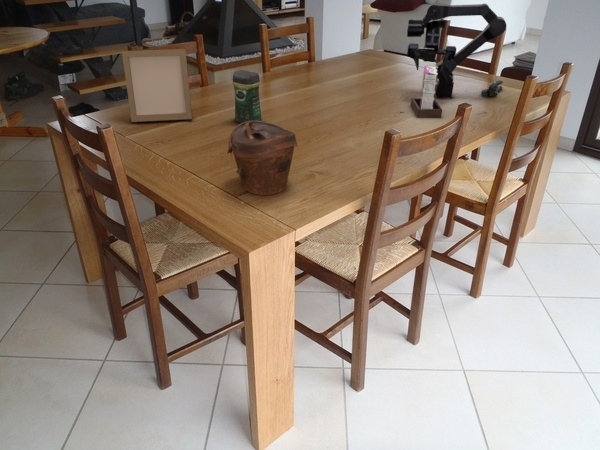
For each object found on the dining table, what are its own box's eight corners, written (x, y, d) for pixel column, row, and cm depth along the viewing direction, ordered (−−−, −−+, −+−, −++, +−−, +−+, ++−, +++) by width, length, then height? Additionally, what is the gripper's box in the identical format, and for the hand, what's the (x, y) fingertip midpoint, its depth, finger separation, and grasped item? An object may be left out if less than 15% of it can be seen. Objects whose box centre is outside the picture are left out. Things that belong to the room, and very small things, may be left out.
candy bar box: (418, 106, 203) (424, 65, 195) (431, 107, 202) (437, 66, 194) (418, 115, 194) (424, 73, 185) (432, 116, 193) (438, 73, 184)
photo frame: (192, 121, 187) (184, 52, 174) (132, 124, 184) (119, 54, 171) (192, 108, 200) (185, 43, 187) (136, 111, 197) (125, 45, 184)
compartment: (432, 105, 204) (433, 98, 202) (441, 117, 192) (442, 109, 190) (410, 105, 204) (411, 98, 202) (417, 117, 192) (418, 109, 190)
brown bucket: (243, 167, 153) (239, 111, 144) (305, 176, 149) (306, 118, 139) (218, 194, 139) (213, 132, 129) (287, 204, 134) (286, 141, 125)
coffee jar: (265, 120, 188) (263, 71, 178) (251, 127, 183) (249, 75, 173) (245, 115, 193) (242, 66, 183) (231, 121, 187) (228, 71, 178)
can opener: (494, 99, 211) (497, 86, 208) (478, 96, 215) (481, 83, 212) (508, 89, 223) (511, 77, 220) (492, 87, 227) (495, 74, 224)
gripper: (452, 48, 209) (449, 82, 206) (407, 45, 211) (403, 79, 208) (457, 32, 198) (455, 68, 195) (410, 29, 200) (406, 64, 197)
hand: (429, 70), depth 199 cm, fingers open, 9 cm apart
